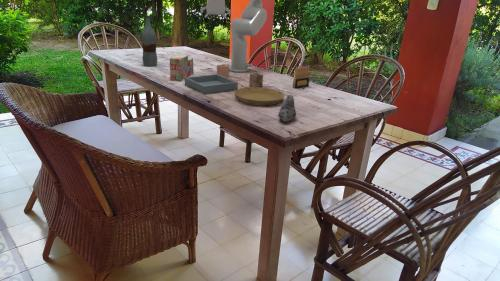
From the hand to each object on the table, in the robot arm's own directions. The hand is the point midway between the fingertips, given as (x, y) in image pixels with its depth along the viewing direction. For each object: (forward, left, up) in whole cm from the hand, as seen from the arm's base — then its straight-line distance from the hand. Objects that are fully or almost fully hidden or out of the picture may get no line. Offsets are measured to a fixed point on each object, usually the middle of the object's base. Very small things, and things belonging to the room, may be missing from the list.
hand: (215, 25), depth 207 cm
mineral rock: (+15, +77, -29) cm, 84 cm away
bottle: (+22, -42, -29) cm, 55 cm away
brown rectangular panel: (-29, +42, -29) cm, 59 cm away
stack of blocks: (+18, -7, -29) cm, 34 cm away
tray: (+16, +21, -29) cm, 39 cm away
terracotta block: (-2, +5, -29) cm, 29 cm away
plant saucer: (+7, +50, -29) cm, 58 cm away
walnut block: (-6, +31, -29) cm, 43 cm away
